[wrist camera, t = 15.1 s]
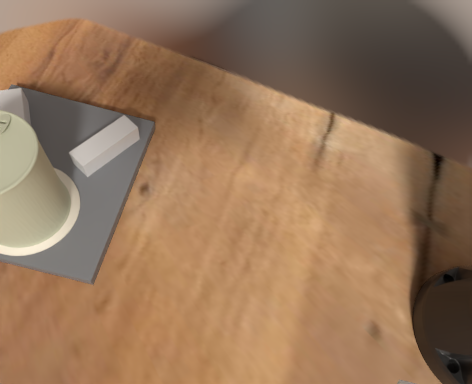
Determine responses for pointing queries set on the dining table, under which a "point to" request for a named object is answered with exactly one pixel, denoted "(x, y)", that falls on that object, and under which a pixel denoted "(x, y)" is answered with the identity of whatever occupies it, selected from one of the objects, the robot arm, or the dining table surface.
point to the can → (28, 187)
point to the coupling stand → (80, 177)
